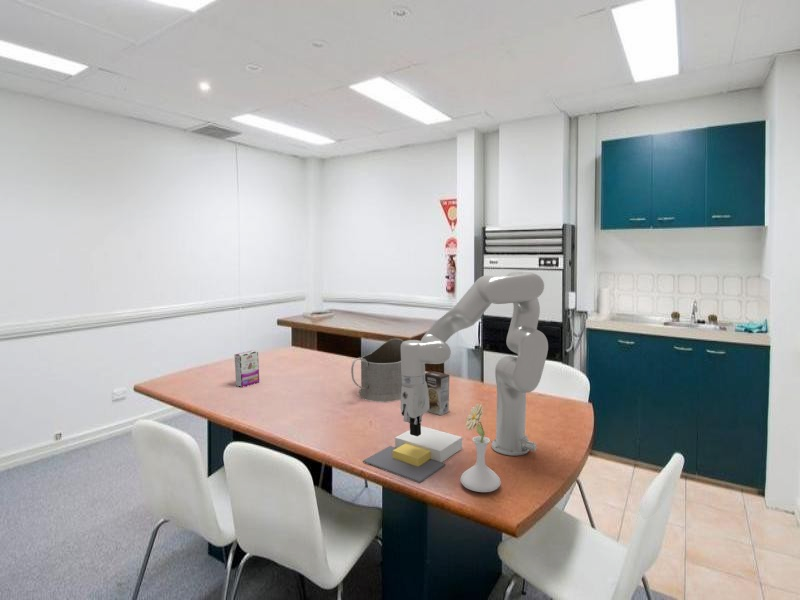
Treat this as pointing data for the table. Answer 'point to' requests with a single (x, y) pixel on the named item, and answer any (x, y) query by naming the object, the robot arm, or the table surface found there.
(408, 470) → the mat
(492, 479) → the flower in vase
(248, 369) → the candy bar box
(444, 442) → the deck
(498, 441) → the robot arm
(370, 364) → the pitcher
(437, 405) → the coffee box
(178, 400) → the table surface
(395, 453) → the tile
